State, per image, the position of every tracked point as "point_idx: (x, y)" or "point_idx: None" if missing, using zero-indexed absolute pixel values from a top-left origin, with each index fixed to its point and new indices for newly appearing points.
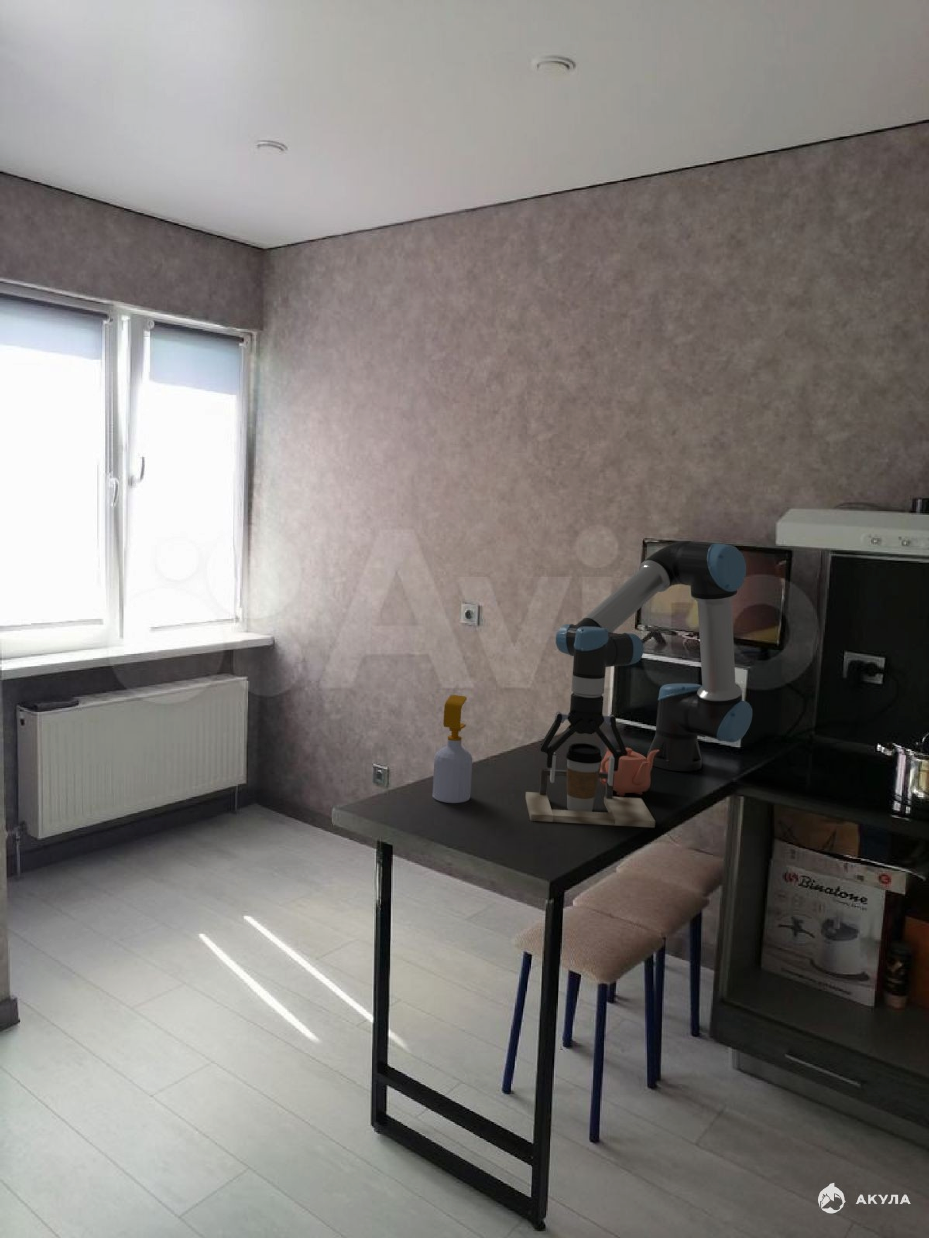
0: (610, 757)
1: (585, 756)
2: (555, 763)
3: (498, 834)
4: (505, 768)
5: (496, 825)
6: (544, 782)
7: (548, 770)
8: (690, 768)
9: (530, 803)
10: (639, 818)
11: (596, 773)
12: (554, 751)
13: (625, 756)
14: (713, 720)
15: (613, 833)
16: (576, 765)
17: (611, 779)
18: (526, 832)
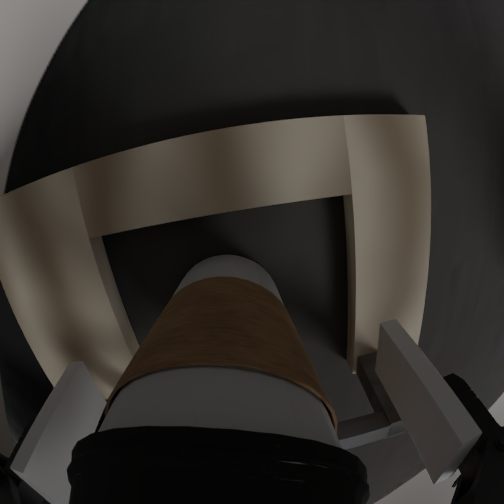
0: (43, 489)
1: (172, 501)
2: (436, 400)
3: (461, 2)
4: (395, 470)
5: (482, 66)
6: (382, 385)
7: (386, 427)
8: None
9: (424, 244)
10: (9, 211)
11: (113, 389)
12: (487, 463)
13: None
14: None
15: (91, 75)
16: (276, 414)
17: (63, 382)
18: (405, 8)
